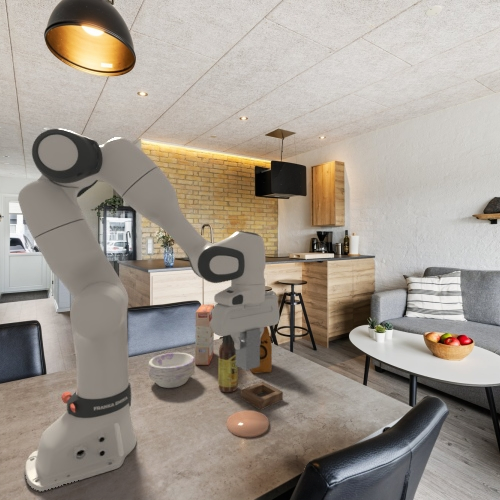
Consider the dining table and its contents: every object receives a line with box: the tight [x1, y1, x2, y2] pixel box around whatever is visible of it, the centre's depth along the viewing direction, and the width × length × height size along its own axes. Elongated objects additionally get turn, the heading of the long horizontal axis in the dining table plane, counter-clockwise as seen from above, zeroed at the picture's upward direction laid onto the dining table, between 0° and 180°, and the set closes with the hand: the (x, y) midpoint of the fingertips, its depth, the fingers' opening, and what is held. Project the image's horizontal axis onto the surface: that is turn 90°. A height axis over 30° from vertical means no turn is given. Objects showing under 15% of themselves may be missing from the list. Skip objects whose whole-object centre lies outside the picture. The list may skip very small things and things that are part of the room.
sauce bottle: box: [217, 335, 239, 393], centre depth 107 cm, size 6×6×20 cm
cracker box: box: [194, 304, 215, 366], centre depth 133 cm, size 14×6×21 cm, turn 179°
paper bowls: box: [148, 352, 196, 389], centre depth 112 cm, size 15×15×8 cm
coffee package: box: [250, 326, 273, 374], centre depth 125 cm, size 10×12×22 cm
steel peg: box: [236, 328, 260, 371], centre depth 86 cm, size 4×4×10 cm
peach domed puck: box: [226, 410, 270, 438], centre depth 87 cm, size 11×11×1 cm
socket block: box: [240, 381, 284, 411], centre depth 101 cm, size 9×9×2 cm
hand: (247, 346), depth 86 cm, fingers closed on steel peg, 4 cm apart
